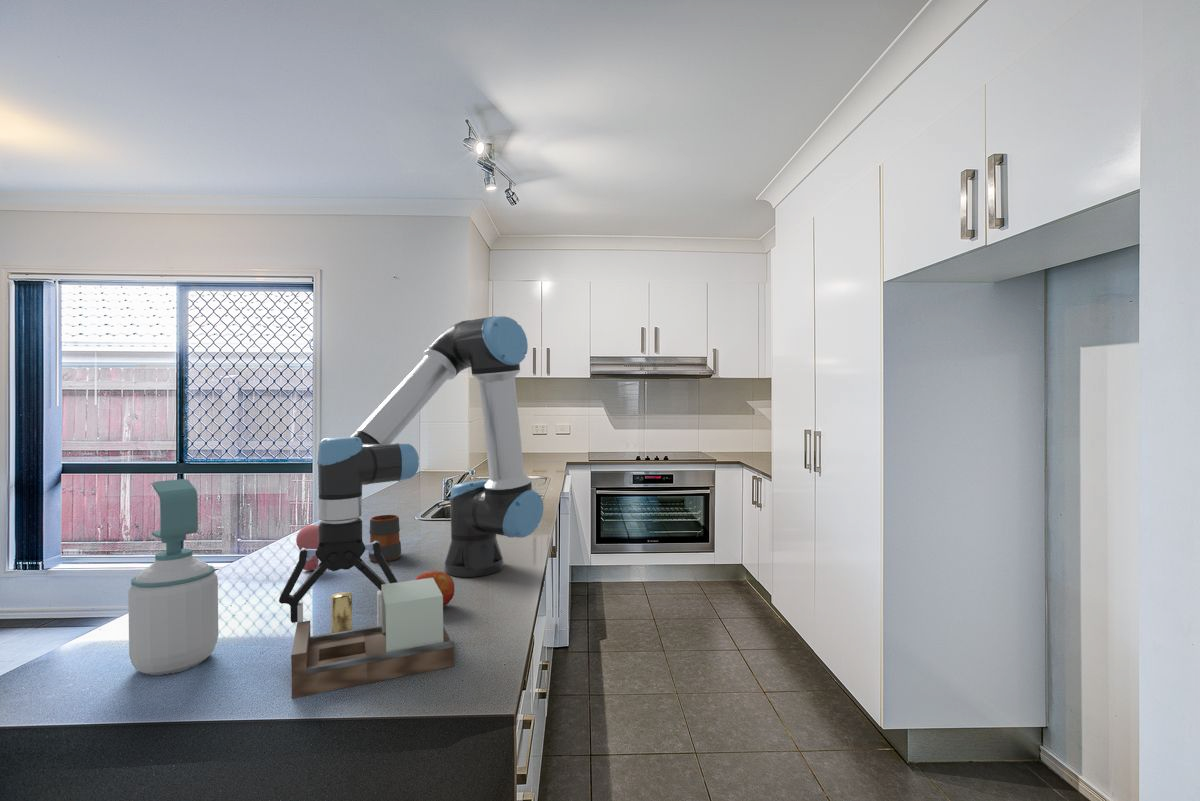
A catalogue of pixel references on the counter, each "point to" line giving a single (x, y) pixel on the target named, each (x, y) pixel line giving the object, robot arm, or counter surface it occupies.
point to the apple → (441, 584)
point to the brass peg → (341, 612)
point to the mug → (386, 536)
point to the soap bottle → (173, 593)
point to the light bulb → (309, 544)
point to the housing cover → (412, 614)
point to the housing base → (357, 659)
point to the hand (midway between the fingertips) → (341, 632)
